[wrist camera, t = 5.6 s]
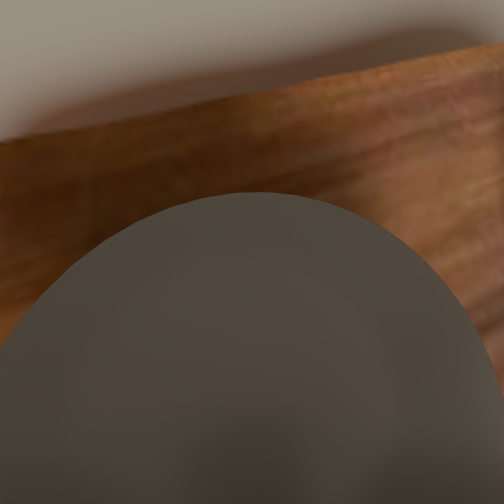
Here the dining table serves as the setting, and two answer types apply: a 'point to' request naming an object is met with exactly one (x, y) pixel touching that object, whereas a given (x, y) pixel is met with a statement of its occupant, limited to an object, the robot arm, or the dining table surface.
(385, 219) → the dining table surface
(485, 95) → the dining table surface
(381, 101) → the dining table surface
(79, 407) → the spice jar
